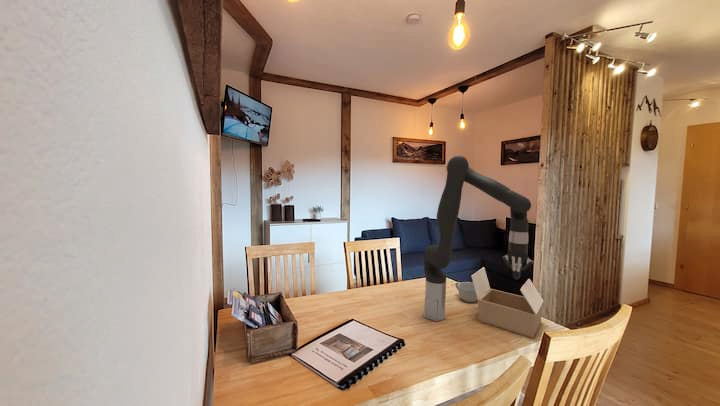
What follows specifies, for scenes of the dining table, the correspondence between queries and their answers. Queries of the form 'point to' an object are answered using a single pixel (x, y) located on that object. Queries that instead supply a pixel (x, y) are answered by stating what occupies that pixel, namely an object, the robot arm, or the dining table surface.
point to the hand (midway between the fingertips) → (516, 278)
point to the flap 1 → (480, 282)
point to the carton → (509, 313)
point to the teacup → (466, 291)
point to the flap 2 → (532, 296)
